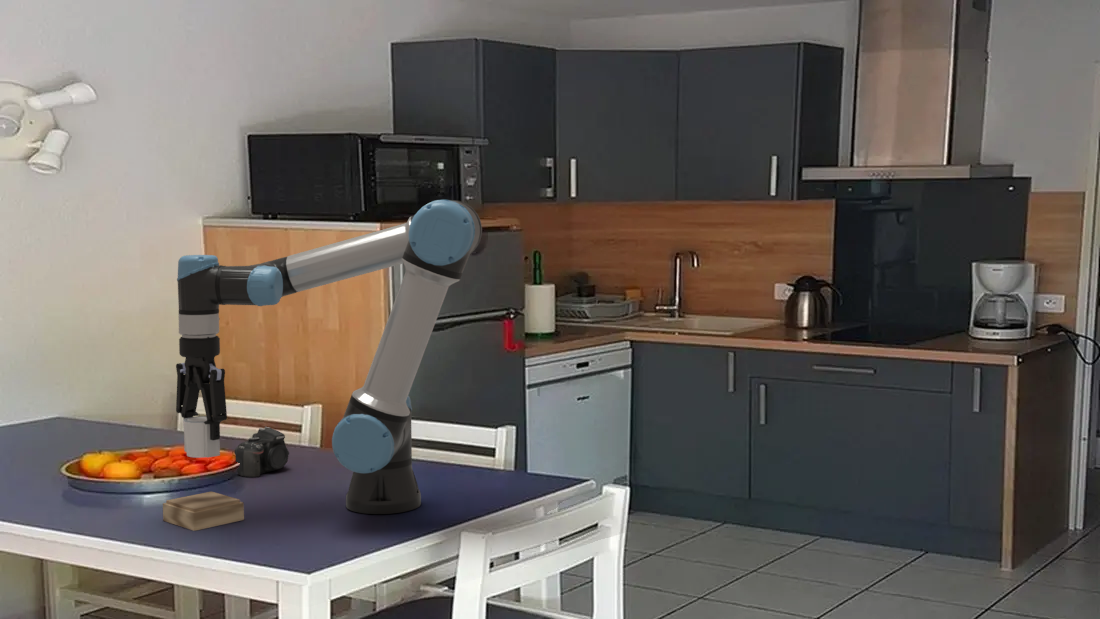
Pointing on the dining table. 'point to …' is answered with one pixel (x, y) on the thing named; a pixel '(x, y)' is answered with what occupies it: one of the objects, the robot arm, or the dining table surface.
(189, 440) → the shot glass
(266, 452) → the camera
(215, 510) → the stand
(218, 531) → the dining table surface
